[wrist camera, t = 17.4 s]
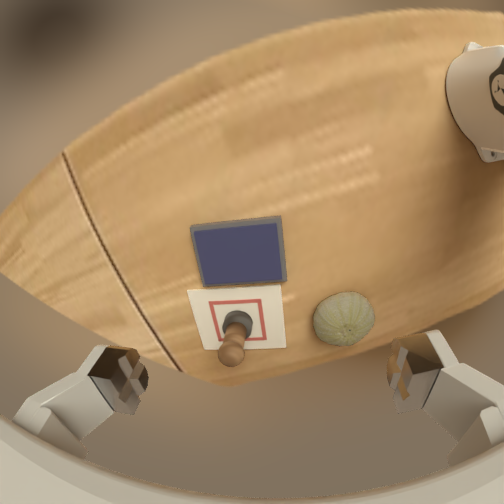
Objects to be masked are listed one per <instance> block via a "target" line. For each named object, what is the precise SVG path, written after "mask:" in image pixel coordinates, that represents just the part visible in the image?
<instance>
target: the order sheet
mask: <svg viewBox="0 0 504 504" xmlns="http://www.w3.org/2000/svg"><path fill="white" fill-rule="evenodd" d="M187 293H188V296H189V300H190V303H191V307H192V310H193V314H194V317H195V321H196V324H197V327H198V330H199V334H200V337H201V340H202V343H203V346H204V350H219V348H220V346H221V345H222V344H223V340H224V336H225V334H224V332H223V330H222V326H223V323H224V319H225V316H226V315H227V314H228V313H229V312H231V311H235V310H239V311H243V312H246V313H247V314H249V315H250V317H251V318H252V321H253V325H252V331H251V335H250V336H249V337H248V338H247V339H245V343H244V349H270V348H286V336H285V325H284V314H283V304H282V294H281V284H277V285H263V286H249V287H233V288H215V289H195V290H187Z"/></svg>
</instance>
